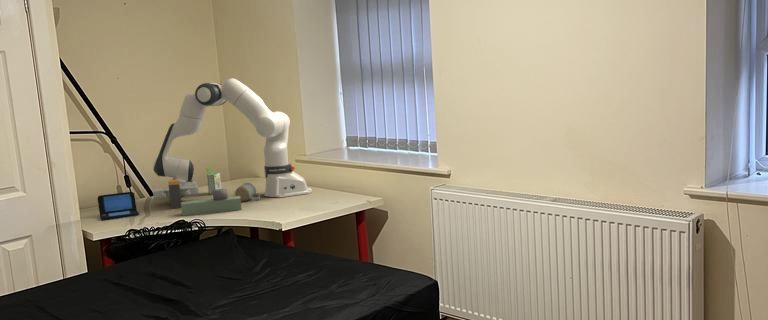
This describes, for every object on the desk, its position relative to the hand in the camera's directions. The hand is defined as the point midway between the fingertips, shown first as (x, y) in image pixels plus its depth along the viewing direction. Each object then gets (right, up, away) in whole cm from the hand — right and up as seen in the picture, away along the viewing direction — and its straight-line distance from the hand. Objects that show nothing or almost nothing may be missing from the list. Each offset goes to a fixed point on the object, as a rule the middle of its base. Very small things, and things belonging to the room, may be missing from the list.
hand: (175, 194), depth 323 cm
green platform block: (+19, -6, -10) cm, 22 cm away
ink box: (+11, -1, +30) cm, 32 cm away
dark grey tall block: (0, -6, +1) cm, 6 cm away
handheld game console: (-22, -9, -9) cm, 26 cm away
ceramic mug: (+32, -3, +7) cm, 33 cm away
